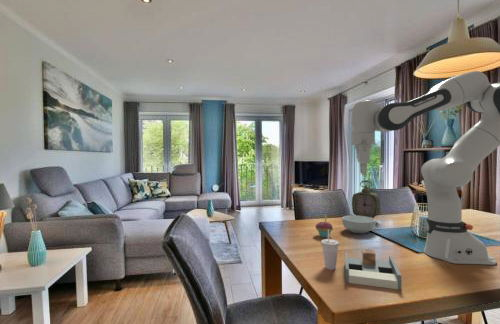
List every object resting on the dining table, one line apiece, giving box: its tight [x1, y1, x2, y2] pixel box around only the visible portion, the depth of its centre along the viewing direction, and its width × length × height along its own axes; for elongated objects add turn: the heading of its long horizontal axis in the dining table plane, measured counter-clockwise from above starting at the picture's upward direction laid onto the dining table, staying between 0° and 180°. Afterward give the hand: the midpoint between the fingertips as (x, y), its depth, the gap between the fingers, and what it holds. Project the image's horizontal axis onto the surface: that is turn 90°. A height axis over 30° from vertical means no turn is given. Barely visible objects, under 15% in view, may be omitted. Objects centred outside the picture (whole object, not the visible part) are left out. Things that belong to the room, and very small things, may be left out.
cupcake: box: [315, 214, 334, 238], centre depth 135 cm, size 9×8×12 cm
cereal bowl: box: [341, 215, 377, 234], centre depth 142 cm, size 17×17×7 cm
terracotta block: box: [361, 248, 377, 265], centre depth 95 cm, size 4×4×4 cm
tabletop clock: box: [351, 180, 381, 219], centre depth 163 cm, size 14×9×25 cm, turn 50°
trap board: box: [344, 251, 402, 291], centre depth 91 cm, size 16×16×4 cm
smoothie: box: [320, 230, 340, 271], centre depth 98 cm, size 6×6×14 cm
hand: (363, 174), depth 109 cm, fingers open, 8 cm apart
